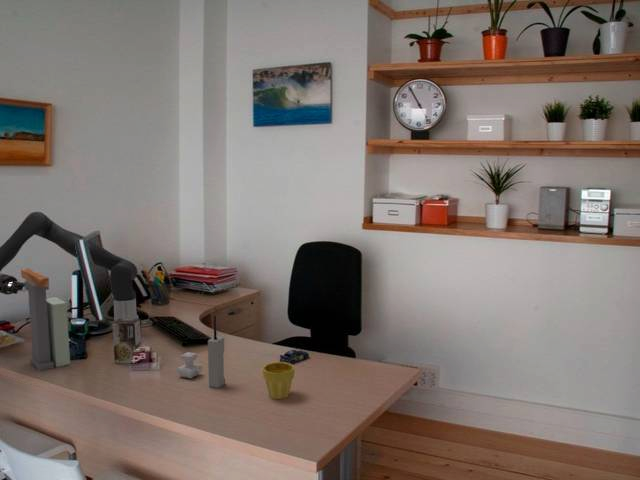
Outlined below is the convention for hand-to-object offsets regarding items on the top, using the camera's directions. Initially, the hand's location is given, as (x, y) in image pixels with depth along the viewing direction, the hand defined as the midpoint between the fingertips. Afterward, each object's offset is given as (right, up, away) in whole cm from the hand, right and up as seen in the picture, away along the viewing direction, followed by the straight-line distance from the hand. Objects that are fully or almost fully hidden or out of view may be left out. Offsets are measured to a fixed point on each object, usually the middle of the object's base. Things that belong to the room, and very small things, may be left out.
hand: (27, 290), depth 239 cm
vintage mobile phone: (+78, -31, -26) cm, 88 cm away
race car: (+104, -28, +1) cm, 108 cm away
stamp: (+67, -30, -17) cm, 75 cm away
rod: (+7, +4, -8) cm, 12 cm away
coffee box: (+40, -27, -1) cm, 48 cm away
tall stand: (+8, -28, -5) cm, 30 cm away
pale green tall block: (+13, -27, -2) cm, 30 cm away
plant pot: (+100, -32, -34) cm, 111 cm away
